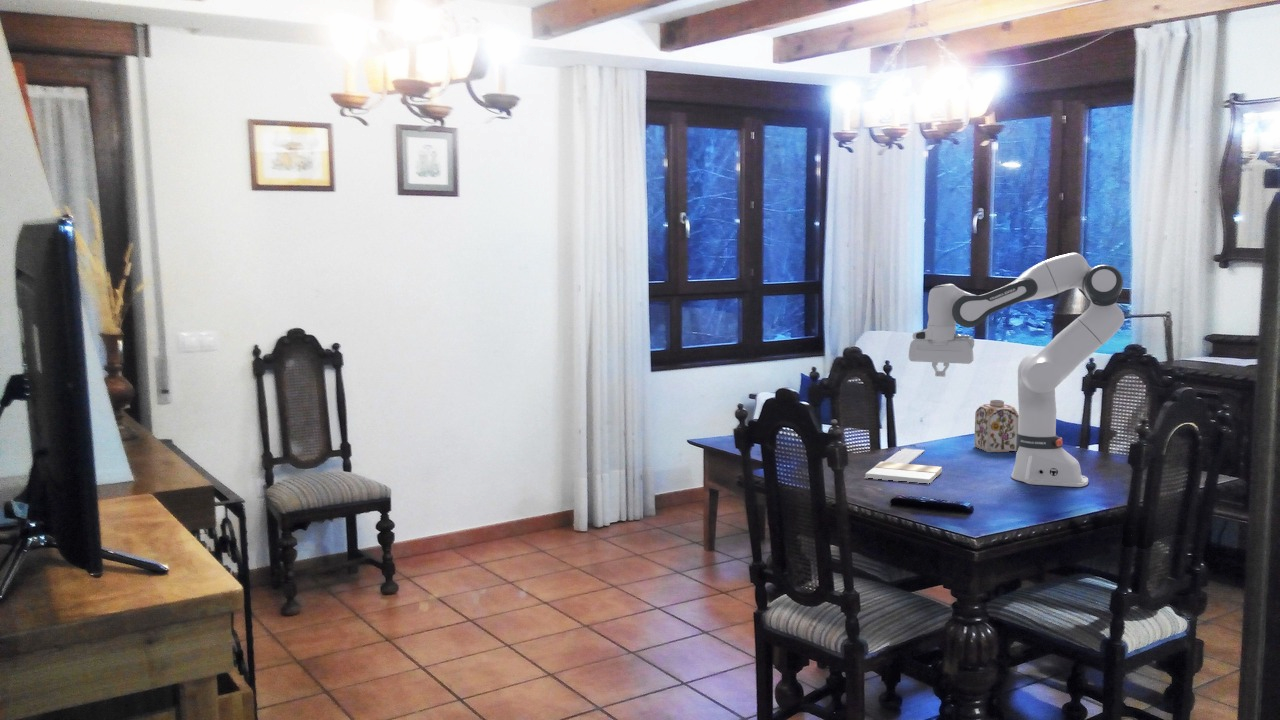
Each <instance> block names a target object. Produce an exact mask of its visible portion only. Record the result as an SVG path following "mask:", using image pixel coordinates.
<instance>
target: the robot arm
mask: <svg viewBox="0 0 1280 720" xmlns="http://www.w3.org/2000/svg"><path fill="white" fill-rule="evenodd" d="M1123 286H1124V279H1123V275H1122V273H1121V272H1120V271H1119V269H1117V268H1116V267H1115V266H1112V265H1110V264H1099V265H1096V266H1093V267H1091V266H1090V265H1089V263H1088V261H1087V259H1086V258H1085V257H1084V256H1083V255H1082V254H1080V253H1078V252H1070V253H1069V252H1068V253H1066V254H1061V255H1058V256H1054V257H1051V258H1048V259H1046V260H1043V261H1040V262H1038V263H1037V264H1034V265H1033V266H1031V267H1029V268H1027V269H1026V270H1025V271H1023V272H1022V273H1021V274H1020V275H1019V276H1018V277H1017V278H1015V280H1013V281H1012V282H1009V283H1008V284H1006V285H1004V286H1002V287H1000V288H997V289H994V290H992V291H989V292H987V293H984V294H980V295H977V294H974V293H970V292H968V291H965V290H963V289H962V288H959V287H957V286H956V285H955V284H953V283H945V284H940V285H939V284H938V285H935V286H932V288H931V289H930V290H929V293H928V299H927V315H928V319H927V320H928V321H927V324H926V325H927V327H926V328H924V329H921V330H917V331H915V332H913V333H912V339H913V340H912V341H911V342H910V344H909V348H908V360H909V361H910V362H918V363H920V362H921V363H931V366H932V369H934V370H933V371H935V372H934V373H935V374H934V375H935V377H940V378H941V377H944V378H945V377H946V371H947V369H949V366H950V364H964V365H965V364H967V365H970V364H972V363H973V361H974V347H975V339H974V337H972V336H970V334H956V332H957V331H956V329H957V327H956V326H957V325H956V324H958V325H959V326H961V327H963V328H975V327H977V326H979V325H980V324H981V323H982V322H984V320H985V319H986V318H987V317H988V316H989V315H991V314H994V313H996V312H999V311H1001V310H1003V309H1006V308H1007V307H1010V306H1013V305H1015V304H1018V303H1021V302H1023V303H1024V302H1028V301H1029V302H1030V301H1037V300H1040V299H1045V298H1049V297H1052V296H1055V295H1058V294H1060V293H1063V292H1065V291H1068V290H1071V289H1077V290H1078V291H1079V292H1080V293H1081V294H1082V295H1083V296H1084V297H1085V299H1086V300H1087V301H1088V302H1090V304H1089V306H1088V308H1087V309H1086V310H1085V311H1084V312H1083V313H1082V314H1081V315H1079V316H1078V317H1077V318H1075V319H1074V320H1073V321H1072V322H1070V323H1069V324H1068V325H1067V326H1066V327H1065V328H1063V329H1062V330H1061V331H1060V332H1059V333H1057V334H1056V335H1055V336H1054V337H1053V339H1051V340H1050V342H1048V343H1047V345H1046V346H1045V347H1044V348H1043V349H1041V351H1039V352H1038V353H1032V354H1029V355H1026V356H1025V357H1023V358H1022V359H1021V361H1020V362H1019V364H1018V367H1017V399H1018V401H1017V403H1018V415H1019V416H1018V433H1017V435H1016V451H1017V452H1015V453H1016V454H1015V460H1014V464H1013V465H1014V466H1013V469H1012V473H1011V474H1010V477H1011V478H1012V479H1013V480H1015V481H1018V482H1023V483H1025V484H1027V485H1035V486H1036V485H1037V486H1053V487H1054V486H1055V487H1057V486H1058V487H1071V488H1072V487H1073V488H1074V487H1075V488H1081V487H1085V486H1087V485H1088V484H1089V478H1088V477H1087V476H1086V475H1082V471H1081V465H1080V463H1079V460H1078V459H1077V458H1075V457H1074V456H1073V455H1072V454H1070V453H1069V452H1068V451H1066V450H1065V449H1064V448H1063V445H1064V444H1063V443H1064V442H1063V438H1062V437H1060V436H1058V435H1057V434H1056V431H1057V429H1056V428H1057V405H1056V404H1057V403H1056V388H1057V387H1058V386H1059V385H1060V384H1061V383H1062V382H1063V381H1065V380H1066V379H1067V377H1069V376H1070V375H1071V374H1072V373H1073V372H1074V370H1076V369H1077V367H1079V365H1080V364H1081V363H1082V362H1084V361H1085V360H1086V359H1087V358H1089V357H1090V356H1091V355H1092V354H1094V353H1095V352H1096V351H1098V349H1099V348H1101V347H1103V345H1104V344H1106V343H1107V342H1108V341H1109V340H1110V339H1112V338H1113V336H1114V335H1116V333H1117V332H1118V331H1119V330H1120V329H1121V328H1122V326H1124V324H1125V314H1124V312H1123V310H1122V309H1121V307H1119V305H1118V304H1117V302H1118V300H1119V297H1120V295H1121V293H1122V290H1123ZM939 363H940V364H941V363H942V364H943V367H944V368H943V370H939V369H938V367H937V366H938V364H939Z"/></svg>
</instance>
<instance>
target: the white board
mask: <svg viewBox="0 0 1280 720" xmlns="http://www.w3.org/2000/svg"><path fill="white" fill-rule="evenodd" d="M864 474H865V479H868V478H873V479H872V480H878V479H882V480H881V481H888V480H893V481H892V482H898V481H907V482H906V483H909V482H918V483H917V484H919V483H928V484H927V485H930V484H931V483H933V482H934V481H935V480H936V479H937V478H936V473H929V472H918V471H907V470H896V469H885V468H874V467H872V468H871V469H870V470H868V471H867V472H865V473H864ZM935 478H936V479H935ZM934 479H935V480H934ZM933 480H934V481H933ZM929 483H930V484H929Z"/></svg>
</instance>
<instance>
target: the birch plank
mask: <svg viewBox="0 0 1280 720" xmlns="http://www.w3.org/2000/svg"><path fill="white" fill-rule="evenodd" d="M873 468H885V469H896V470H907V471H918V472H929V473H936V477H938V476H939V475H940V474H941V473H942V471H943V467H942V466H937V465H936V466H935V465H926V464H914V463H913V464H912V463H911V464H904V463H892V462H884V461H879V462H878V463H877V464H876V465H874V467H873Z"/></svg>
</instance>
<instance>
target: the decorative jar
mask: <svg viewBox="0 0 1280 720" xmlns="http://www.w3.org/2000/svg"><path fill="white" fill-rule="evenodd" d="M974 414H975V416H974V439H973V440H974V448H976V447H977V448H976V449H978V448H979V450H981V449H982V450H981V451H983V450H984V451H983V452H985V451H986V453H988V452H997V453H1010V452H1009V451H1016V435H1017V433H1018V416H1019V412H1018V411H1017V409H1016V408H1015V407H1014V406H1013V405H1009V404H1005V401H1004V400H1001V399H991V400H990V402H989V403H985V404H981V405H980V406H979V407H978V408H976V411H975V413H974Z"/></svg>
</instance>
